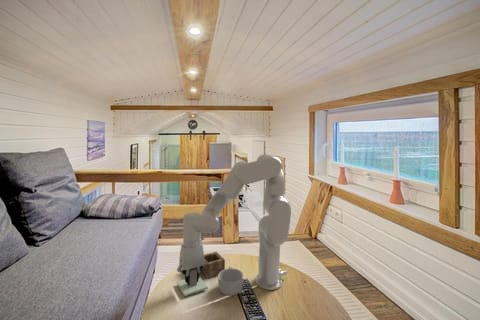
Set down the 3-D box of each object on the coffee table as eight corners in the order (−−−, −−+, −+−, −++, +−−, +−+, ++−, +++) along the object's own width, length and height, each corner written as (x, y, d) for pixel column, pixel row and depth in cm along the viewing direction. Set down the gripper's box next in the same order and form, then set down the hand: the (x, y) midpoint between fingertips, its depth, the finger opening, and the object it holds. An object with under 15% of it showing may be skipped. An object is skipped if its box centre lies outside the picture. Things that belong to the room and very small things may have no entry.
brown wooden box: (216, 266, 129) (216, 251, 128) (224, 275, 121) (224, 259, 120) (198, 271, 124) (198, 256, 123) (206, 280, 116) (206, 264, 115)
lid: (198, 276, 116) (198, 260, 115) (207, 288, 107) (207, 271, 106) (176, 283, 110) (176, 266, 110) (184, 296, 102) (184, 278, 101)
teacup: (240, 301, 102) (240, 282, 101) (214, 298, 104) (215, 280, 103) (245, 281, 116) (245, 265, 115) (222, 279, 117) (222, 263, 117)
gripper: (206, 235, 114) (205, 272, 116) (170, 242, 106) (171, 283, 107) (213, 241, 108) (212, 281, 109) (176, 249, 99) (176, 292, 101)
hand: (192, 281), depth 108 cm, fingers closed on lid, 3 cm apart
